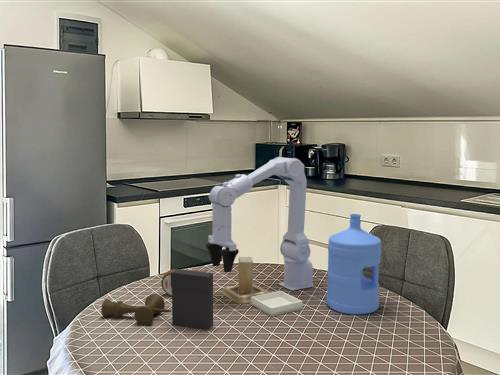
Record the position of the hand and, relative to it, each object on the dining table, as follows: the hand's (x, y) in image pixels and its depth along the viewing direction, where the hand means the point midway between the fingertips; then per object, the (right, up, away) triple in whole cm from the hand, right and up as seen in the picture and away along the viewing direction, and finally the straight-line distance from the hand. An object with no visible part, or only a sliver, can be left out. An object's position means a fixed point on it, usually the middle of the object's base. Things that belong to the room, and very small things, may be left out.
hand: (221, 268), depth 154 cm
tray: (+17, -11, -4) cm, 20 cm away
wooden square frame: (+7, -10, +6) cm, 13 cm away
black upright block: (-7, -13, -18) cm, 23 cm away
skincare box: (+7, -10, +6) cm, 14 cm away
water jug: (+40, -11, -2) cm, 41 cm away
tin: (-12, -10, +6) cm, 17 cm away
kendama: (-23, -12, -13) cm, 29 cm away
